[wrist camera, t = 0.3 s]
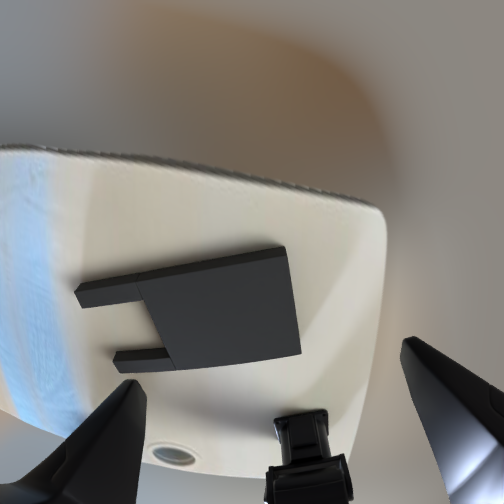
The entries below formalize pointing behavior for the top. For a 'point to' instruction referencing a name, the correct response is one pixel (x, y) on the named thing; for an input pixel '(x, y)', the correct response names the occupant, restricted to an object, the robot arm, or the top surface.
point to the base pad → (208, 311)
